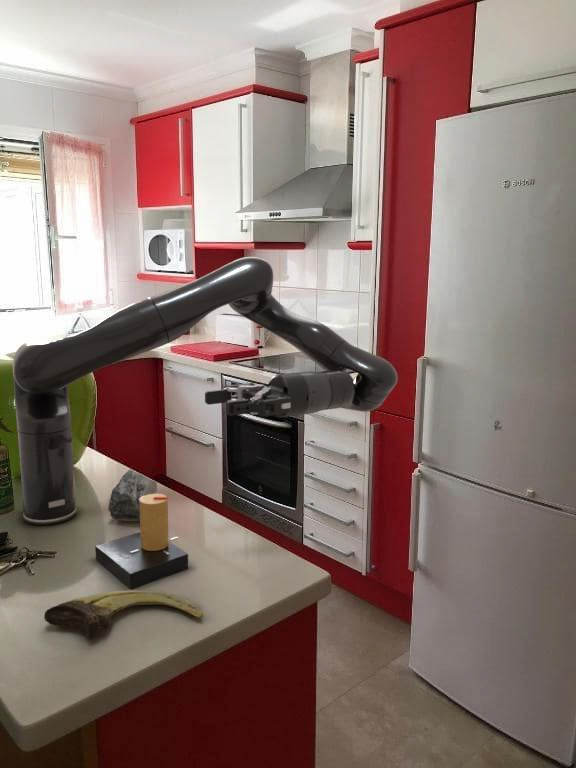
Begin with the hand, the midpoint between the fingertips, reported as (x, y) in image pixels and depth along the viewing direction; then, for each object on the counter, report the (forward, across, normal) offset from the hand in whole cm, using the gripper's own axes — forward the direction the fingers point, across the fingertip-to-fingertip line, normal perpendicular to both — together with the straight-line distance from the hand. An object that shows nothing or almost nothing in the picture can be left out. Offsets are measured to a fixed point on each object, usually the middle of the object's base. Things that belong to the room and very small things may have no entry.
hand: (216, 403), depth 104 cm
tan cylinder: (+11, 0, +22) cm, 25 cm away
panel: (+14, 0, +25) cm, 28 cm away
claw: (+20, +14, +25) cm, 35 cm away
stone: (+8, -18, +25) cm, 32 cm away
